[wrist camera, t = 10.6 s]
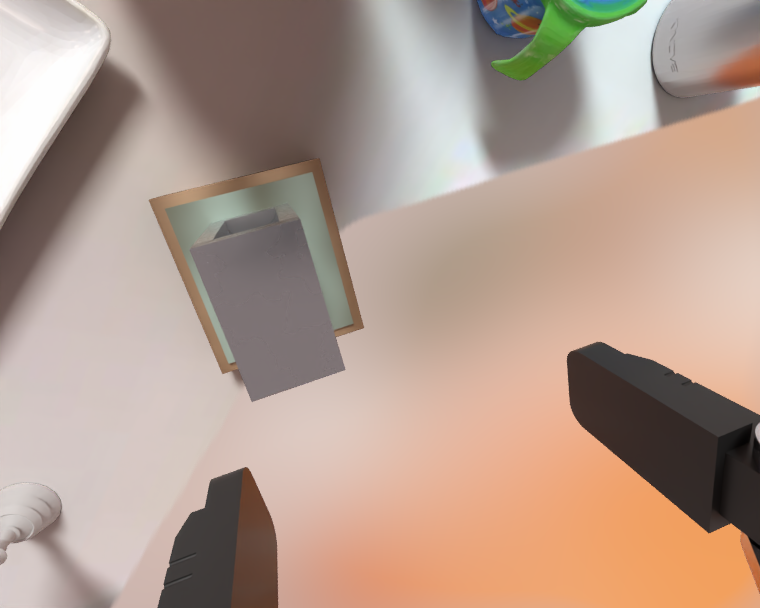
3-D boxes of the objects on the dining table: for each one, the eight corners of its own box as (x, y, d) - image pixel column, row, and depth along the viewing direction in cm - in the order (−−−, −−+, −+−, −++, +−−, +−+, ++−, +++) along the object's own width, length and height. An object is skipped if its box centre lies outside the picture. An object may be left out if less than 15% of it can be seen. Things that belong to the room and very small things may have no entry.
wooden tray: (314, 158, 33) (320, 158, 30) (356, 316, 38) (364, 329, 35) (158, 196, 31) (147, 200, 28) (225, 358, 36) (222, 375, 33)
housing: (287, 202, 30) (300, 218, 21) (321, 313, 33) (345, 369, 24) (211, 222, 29) (189, 249, 20) (254, 334, 32) (252, 402, 23)
